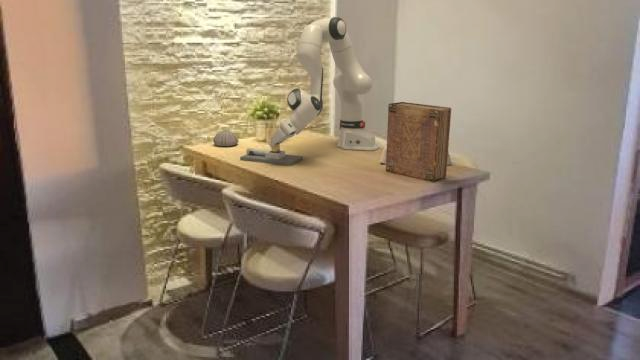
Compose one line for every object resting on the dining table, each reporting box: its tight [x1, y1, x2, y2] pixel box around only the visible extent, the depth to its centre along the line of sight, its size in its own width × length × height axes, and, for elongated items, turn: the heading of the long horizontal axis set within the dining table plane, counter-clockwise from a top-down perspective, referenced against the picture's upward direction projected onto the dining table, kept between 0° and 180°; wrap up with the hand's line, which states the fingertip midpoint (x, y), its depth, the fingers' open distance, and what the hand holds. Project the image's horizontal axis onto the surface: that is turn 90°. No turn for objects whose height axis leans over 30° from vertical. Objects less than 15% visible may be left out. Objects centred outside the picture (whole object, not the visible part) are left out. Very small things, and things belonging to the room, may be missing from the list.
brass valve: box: [270, 139, 281, 153], centre depth 260 cm, size 4×4×8 cm
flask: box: [447, 151, 453, 166], centre depth 257 cm, size 7×7×10 cm
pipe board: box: [239, 147, 304, 166], centre depth 261 cm, size 26×14×4 cm, turn 68°
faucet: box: [379, 145, 387, 165], centre depth 261 cm, size 4×18×10 cm, turn 130°
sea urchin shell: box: [212, 129, 239, 147], centre depth 292 cm, size 13×14×8 cm
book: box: [385, 101, 452, 183], centre depth 234 cm, size 25×9×30 cm, turn 46°
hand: (275, 144), depth 259 cm, fingers open, 8 cm apart
